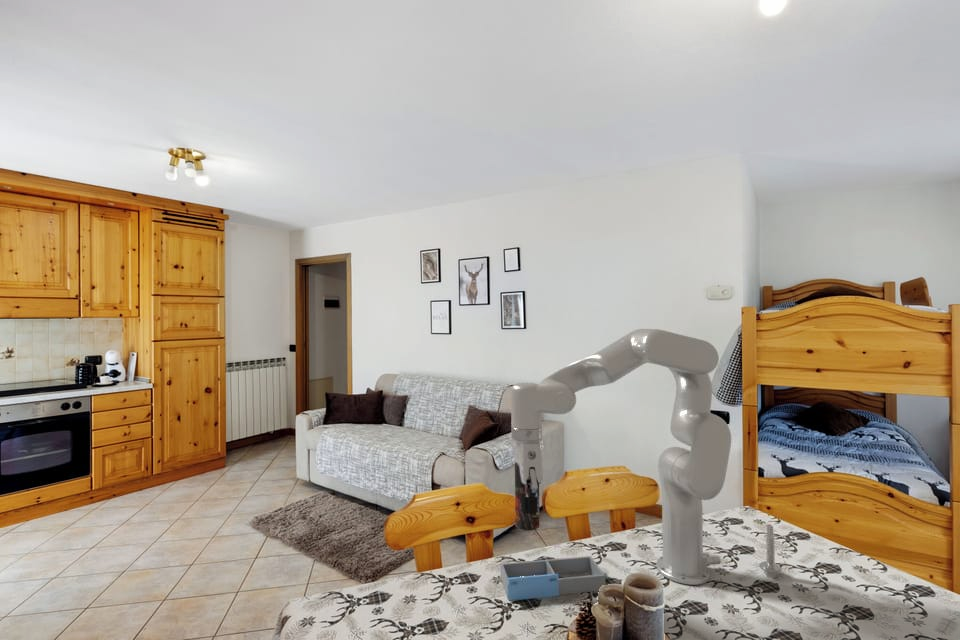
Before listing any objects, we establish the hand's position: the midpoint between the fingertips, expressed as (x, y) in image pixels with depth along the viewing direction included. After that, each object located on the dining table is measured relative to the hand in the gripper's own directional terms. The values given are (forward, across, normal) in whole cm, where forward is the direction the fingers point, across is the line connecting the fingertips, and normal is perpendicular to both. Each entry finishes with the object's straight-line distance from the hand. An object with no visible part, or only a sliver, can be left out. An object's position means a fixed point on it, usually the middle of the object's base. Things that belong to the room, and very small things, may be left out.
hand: (527, 506), depth 111 cm
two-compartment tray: (+19, 0, -6) cm, 20 cm away
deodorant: (+5, 0, 0) cm, 5 cm away
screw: (+20, -5, -62) cm, 65 cm away
